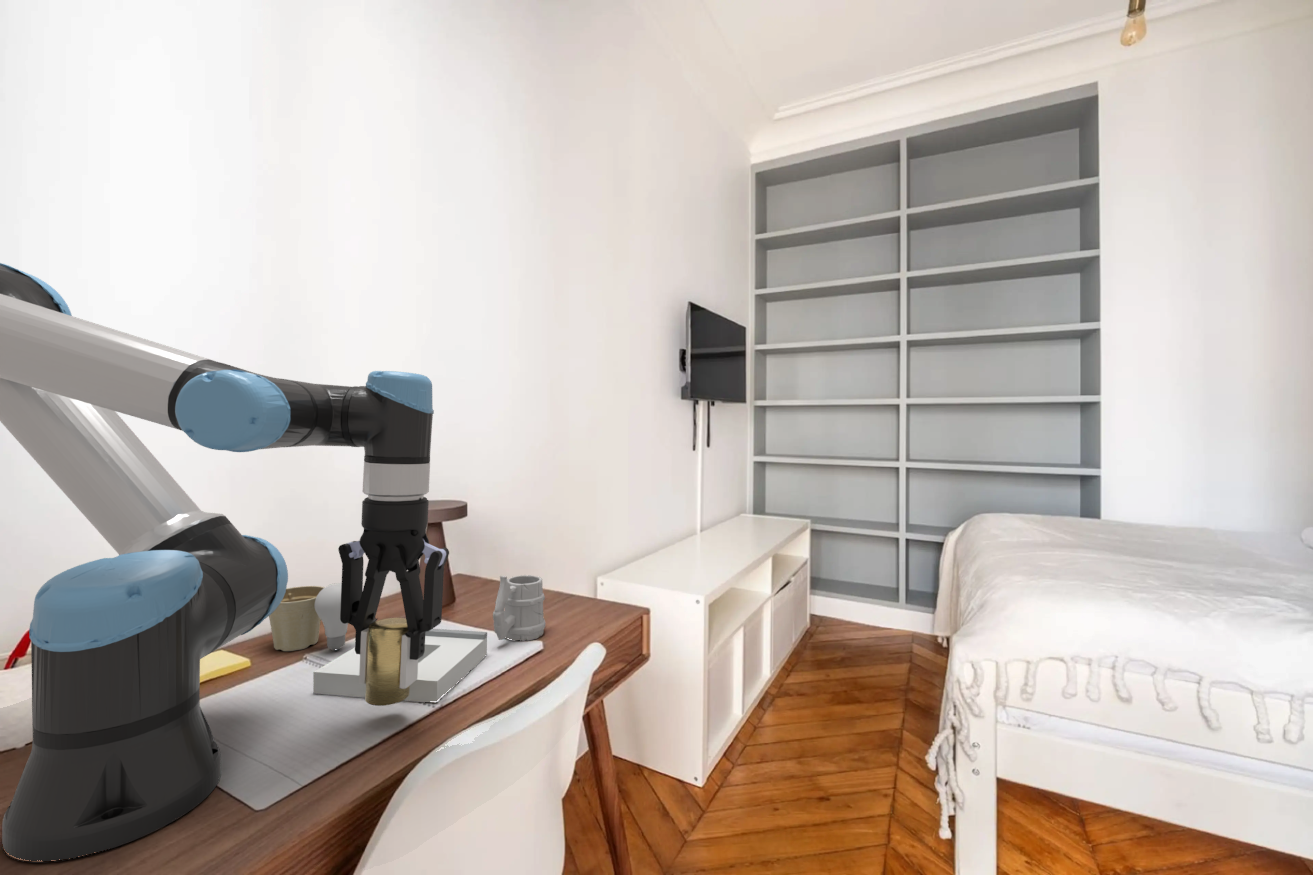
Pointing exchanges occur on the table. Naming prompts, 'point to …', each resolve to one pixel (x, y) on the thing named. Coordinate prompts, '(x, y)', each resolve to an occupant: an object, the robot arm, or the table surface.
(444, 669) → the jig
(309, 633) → the flower pot
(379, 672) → the gold cylinder
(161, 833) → the table surface
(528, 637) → the mug
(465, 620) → the table surface
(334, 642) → the lightbulb
